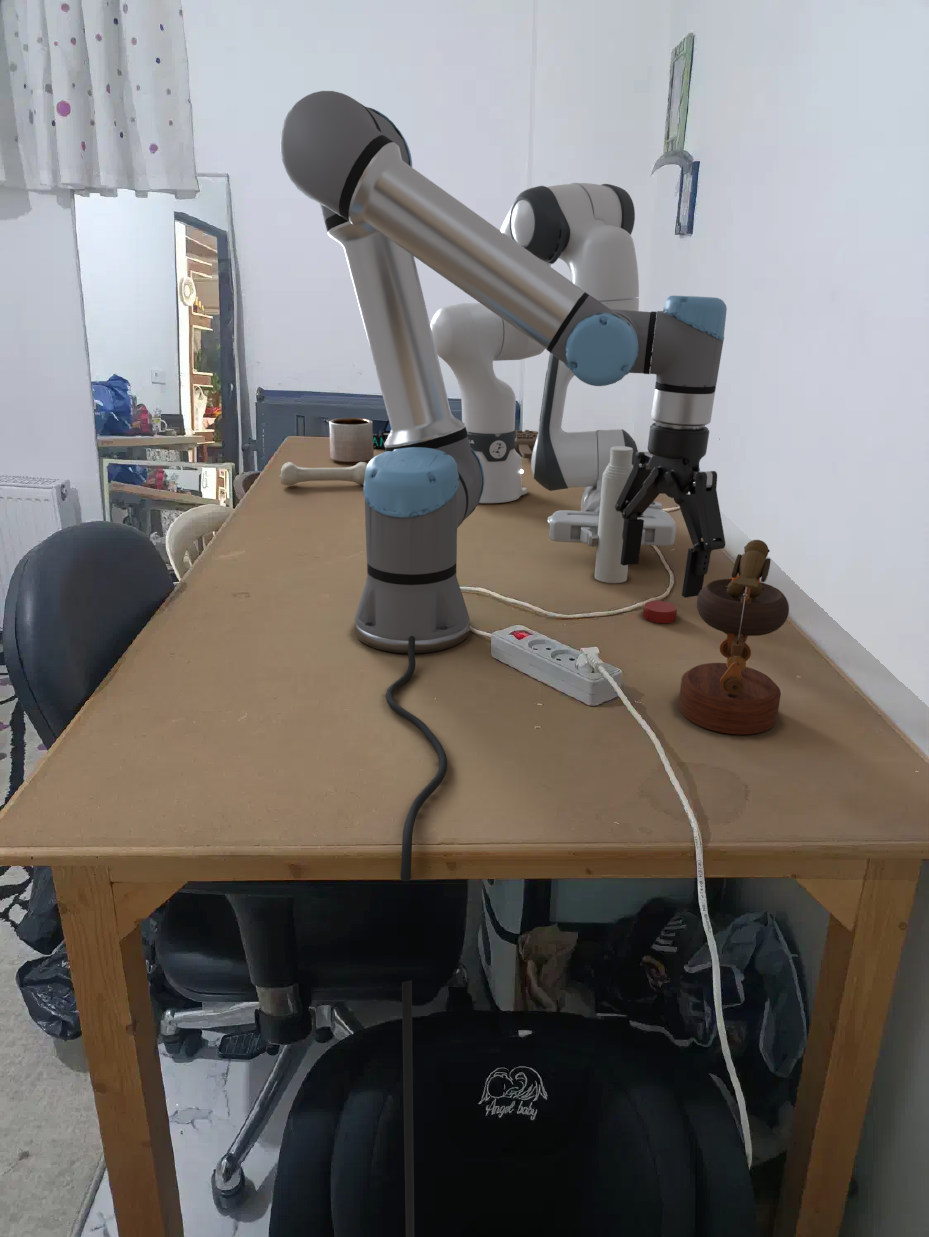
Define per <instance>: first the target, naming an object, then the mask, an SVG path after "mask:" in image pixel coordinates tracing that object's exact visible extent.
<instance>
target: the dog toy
mask: <svg viewBox="0 0 929 1237" xmlns="http://www.w3.org/2000/svg"><path fill="white" fill-rule="evenodd" d="M367 465H368V463H367V462H359V463H355V465H353V466H346V467H304V466H303V467H302V466H298V465H296V464H295V463H294V462H291V461H288V462H285V463H283V465H282V466H281V468H280V475H279V479H280V480H279V481H280V484H281V485H282V486H289V487H291V486H294V485H297V484H298V483H304V482H313V481H314V482H316V481H317V482H319V481H320V482H321V481H322V482H323V481H327V482H328V481H330V482H333V481H338V482H339V481H341V482H352V483H355V484H358V485H360V486H364V481H365V470H366V467H367Z"/></svg>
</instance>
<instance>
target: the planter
mask: <svg viewBox="0 0 929 1237" xmlns="http://www.w3.org/2000/svg"><path fill="white" fill-rule="evenodd" d="M328 426H329V453H330V454H329V455H330V456H329V457H330V459H331V460H332V461H333V462H335V463H341V464H358V463H359V462H365V463H367V462H368V463H369V462H370V461H371V460H372V459H373V458H374V457H375V455H374V452H375V451H374V450H375V449H374V448H373V435H374V430H373V429H374V428H373V420H371V419H369V418H362V417H361V418H360V417H342V418H341V417H340V418H335V419H334V418H333V419H331V420H329V424H328Z"/></svg>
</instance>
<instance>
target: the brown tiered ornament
mask: <svg viewBox="0 0 929 1237" xmlns="http://www.w3.org/2000/svg"><path fill="white" fill-rule="evenodd" d="M743 550H744V551H743V552H744V553H742V554H740V553H739V554H737V556H736V558H735V561H734V563H733V568H732V572H731V578H721V579H720V578H719V579H716V580H711V581H710V582H708V583H707V584H704V585H703V587H702V589H701V591H700V592H699V594H698V596H696V605H695V606H696V610H697V613H698V616H699V617H700V618H701V620H702V621H703V622H704V623H705V624H706V625H708V626H709V627H711V628H713V629H715V630H717V631H720V632H722V633H723V634H725V635H726V638H725V639H723V640H722V641H721V642H720V644H719V653H720V654H721V655H722V656H723V657H724V658H726V662H708V663H703V664H699V665H696V666H694V667H692V668H690V669H689V670H687V671H686V672H685V673H683V675H682V677H681V681H680V688H679V696H678V703H677V706H678V709H679V711H680V713H681V714H682V715H683V717H685V718H686V719H687V720H689V721H690V722H692V723H693V724H695V725H697V726H699V727H702V728H704V729H707V730H711V731H714V732H718V733H723V734H728V735H729V734H730V735H755V734H759V733H762V732H763V733H764V732H766V731H768V730H769V729H771V728H773V726H775V724H776V722H777V719H778V713H779V707H780V702H781V695H782V692H781V689H780V687H779V686H778V685H777V684H776V682H774V680H773V679H772V678H771V677H770V676H768V675H766V674H765V673H764V672H761V671H759V670H757V669H754V668H752V667H750V666H749V667H748V666H747V661H748V660H749V659H750V658H751V654H752V650H751V647H750V646H749V645H748V644H747V643H746V642H747V639H748V637H757V636H765V635H769V634H772V633H774V632H776V631H778V630H779V629H780V628H781V627H783V625H784V624H785V623H786V621H787V620H788V617H789V613H790V605H789V601H788V598H787V597H786V595H785V594H784V593H783V592H782V590H780V589H779V588H777V587H775V586H773V585H771V584H769V583H765V582H766V581H767V578H768V575H769V573H770V568H771V561H772V560H771V558H769V557H768V555H769V553H770V551H771V550H770V549H769V547H768V544H767V543H766V542H765V541H763V540H762V539H761V540H760V539H752V540H750V541H749V542H747V543H746V545H744V547H743Z"/></svg>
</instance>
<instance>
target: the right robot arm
mask: <svg viewBox="0 0 929 1237" xmlns="http://www.w3.org/2000/svg"><path fill="white" fill-rule="evenodd" d="M635 219H636V211H635V205H634V202H633V199H632V197H631V195H630V194H629V192H628V191H627V190H625V189H624V188H622V187H620V186H617V185H615V184H614V185H613V184H610V183H602V184H597V183H596V184H595V183H588V182H587V183H586V182H572V183H565V184H555V185H550V186H545V185H538V186H535V187H529V188H527V189H524V190H523V191H521V192H520V193H519V194H518V195H517V196H516V198H515V200H514V201H513V203H512V205H511V207H510V208H509V210H508V212H507V214H506V216H505V218H504V219H503V222H502V224H501V226H500V229H499V230H500V231H501V232H503V233H504V234H505V235H507V236H508V237H510V238H511V239H512V240H514V241H515V242H517V243H518V244H519V245H521V246H522V247H524V248H525V249H526V250H528V251H529V252H531V253H532V254H533V255H535V256H536V257H538V258H539V259H540V260H542V261H543V262H544V263H546V264H547V265H549V266H550V267H551V266H552V265H553V264H555V263H556V262H557V261H558V259H560V260H561V261H563V262H564V263H565V264H566V265H567V267H568V270H569V272H570V281H571V282H572V283H574V284H575V285H577V286H578V287H579V288H581V289H582V290H584V291H585V292H586V293H587V294H589V295H590V296H592V297H594V298H595V299H597V300H598V301H599V302H601V303H602V304H604V305H605V306H606V307H608V308H609V309H616V310H630V311H640V309H639V308H640V298H639V297H640V283H639V269H638V261H637V260H638V259H637V253H636V248H635V242H634V239H633V237H632V233H633V230H634V226H635ZM430 326H431V330H432V334H433V339H434V343H435V347H436V351H437V355H438V358H441V360H443V361H444V362H445V363H446V364H447V365H448V366H449V368H450V370H451V371H452V372H453V375H454V376H455V378H456V380H457V384H458V387H459V390H460V391H459V392H460V399H461V421H462V422H463V423H464V424H465V426H466V430H467V435H468V439H469V443H470V447H471V448H472V449H473V450H474V451H475V453H476V454H477V455H478V457H479V459H480V461H481V463H482V466H483V470H484V488H483V493H482V496H481V499H480V501H479V503H478V504H501V503H502V504H503V503H508V502H509V503H510V502H513V501H516V500H518V499H520V498H521V496H524V495H527V494H528V488H527V487H524V486H523V475H522V474H524V469H522V468H523V467H522V455H521V454H518V453H517V452H516V451H515V447H516V441H517V436H516V430H517V429H515V427H516V426H515V425H516V401H517V400H516V398H517V397H516V392H515V391H514V389H513V388H512V387H511V386H510V384H508V383H507V382H505V381H504V380H502V379H500V378H498V377H497V376H496V373H495V370H494V362H495V361H496V362H497V361H498V362H499V361H521V360H526V359H529V358H533V357H536V356H539V355H541V354H542V353H544V351H545V350H546V349H545V348H543V347H542V346H541V345H539V344H538V343H536V342H535V341H533V340H532V339H531V338H529V337H528V336H526V335H525V334H524V333H522V332H521V331H519V330H518V329H516V328H515V327H514V326H512V325H511V324H509V323H508V322H506V321H505V320H504V319H502V318H501V317H499V316H498V315H497V314H495V313H494V312H492V311H491V310H489V309H488V308H487V307H485V306H484V305H482V304H481V303H480V302H461V303H455V304H452V305H447V306H444V307H440V308H439V309H437V310H436V312H435V313H434V314H433V316H432V318H431V320H430ZM574 377H575V375H574V374H573V372H572V371H571V370H570V368H568V367H566V366H565V364H564V363H563V362H562V361H561V360H559V359H558V358H556V357H555V356H554V355H552V354H551V353H550V352H549V356H548V363H547V369H546V373H545V378H544V386H543V394H542V398H541V407H540V415H539V424H538V431H537V432H538V435H537V439H536V442H535V445H534V448H533V452H532V458H530V459H531V460H530V465H531V472H532V476H533V479H534V480H535V481H536V482H537V483H538V485H540V486H542V487H543V488H545V490H547V491H550V492H551V491H552V492H553V491H559V490H567V489H569V488H584V489H583V492H582V495H581V501H580V510H569V509H565V510H563V509H562V510H557V511H554V512H553V513H552V515H550V516H548V517H547V519H546V520H547V521H546V522H547V524H548V525H549V531H548V532H549V535H548V538H549V540H551V541H553V542H558V543H582V544H583V543H584V544H587V546H588V547H597V546H598V542H597V541H598V526H599V514H600V501H601V488H602V476H603V472H604V471H605V469H606V467H607V466H608V464H609V463H610V454H611V453H610V451H611V450H610V449H611V447H614V446H625V447H631V448H633V453H632V465H633V466H634V461H635V456H636V453H637V452H639V449H638V446H637V443H636V441H635V439H633V437H632V436H631V435H630V434H629V433H628V431H627V430H625V429H622V428H621V429H619V428H618V429H597V430H587V431H564V429H563V428H562V427H563V426H562V425H563V418H564V411H565V404H566V398H567V391H568V388H569V384H570V382H571V381H572V379H573V378H574ZM329 421H330V419H328V420H325V418H324V419H323V423H327V424H328V425H329ZM641 516H644V517H640V518H637V519H642V520H644V525H643V533H642V540H641V546H652V547H653V546H655V547H671V546H673V545H674V544H675V541H676V533H677V532H676V531H677V524H676V522H675V520H674V518H673V516H672V515H670V514H669V513H668V512H667V511H666V510H663V504H662V503H661V502H659V501H653V502H652V503H651V504H650V506H649V507H648V508H647V509H646V510H645V511H644V513H643V515H641Z"/></svg>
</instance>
